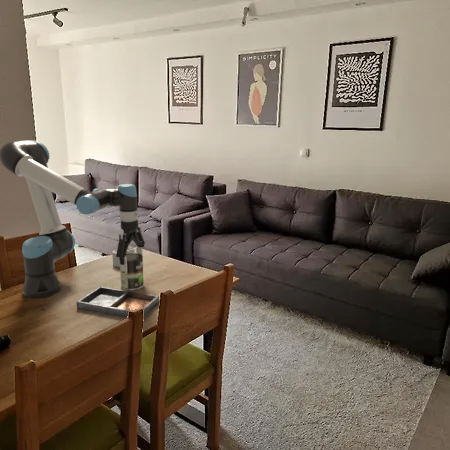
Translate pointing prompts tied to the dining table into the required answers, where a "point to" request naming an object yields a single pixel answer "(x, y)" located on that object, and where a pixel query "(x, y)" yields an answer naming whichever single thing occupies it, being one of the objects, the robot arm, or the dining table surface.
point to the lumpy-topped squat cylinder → (116, 259)
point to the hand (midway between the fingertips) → (132, 265)
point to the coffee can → (132, 272)
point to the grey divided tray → (117, 301)
